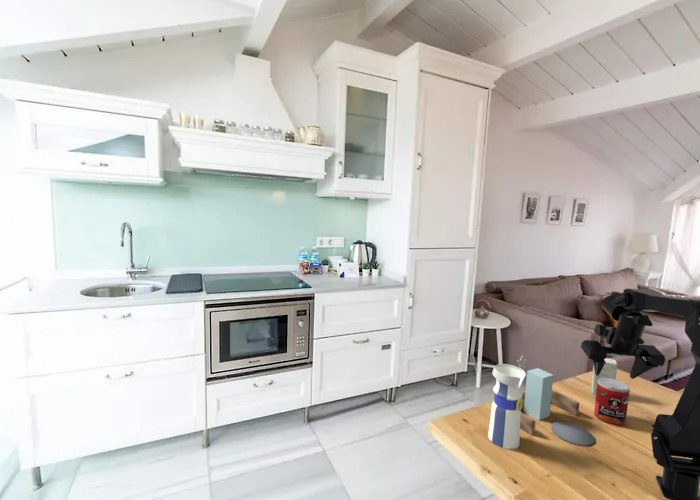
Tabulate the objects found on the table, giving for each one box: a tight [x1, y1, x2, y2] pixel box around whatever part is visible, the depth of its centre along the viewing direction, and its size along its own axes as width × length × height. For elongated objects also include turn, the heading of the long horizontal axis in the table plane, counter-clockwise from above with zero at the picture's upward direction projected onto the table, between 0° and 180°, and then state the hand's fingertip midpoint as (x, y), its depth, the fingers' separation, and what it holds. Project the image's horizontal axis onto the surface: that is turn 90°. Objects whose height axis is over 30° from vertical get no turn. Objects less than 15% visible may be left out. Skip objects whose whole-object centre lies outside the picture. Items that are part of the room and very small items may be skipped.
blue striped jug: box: [487, 355, 528, 450], centre depth 90 cm, size 8×9×25 cm
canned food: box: [593, 378, 630, 427], centre depth 102 cm, size 8×8×11 cm
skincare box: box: [591, 357, 618, 395], centre depth 117 cm, size 6×4×12 cm
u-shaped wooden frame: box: [520, 389, 580, 436], centre depth 104 cm, size 11×22×4 cm, turn 118°
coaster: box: [550, 420, 595, 447], centre depth 95 cm, size 10×10×1 cm
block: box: [523, 367, 554, 421], centre depth 103 cm, size 5×5×13 cm
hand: (613, 376), depth 99 cm, fingers open, 9 cm apart
